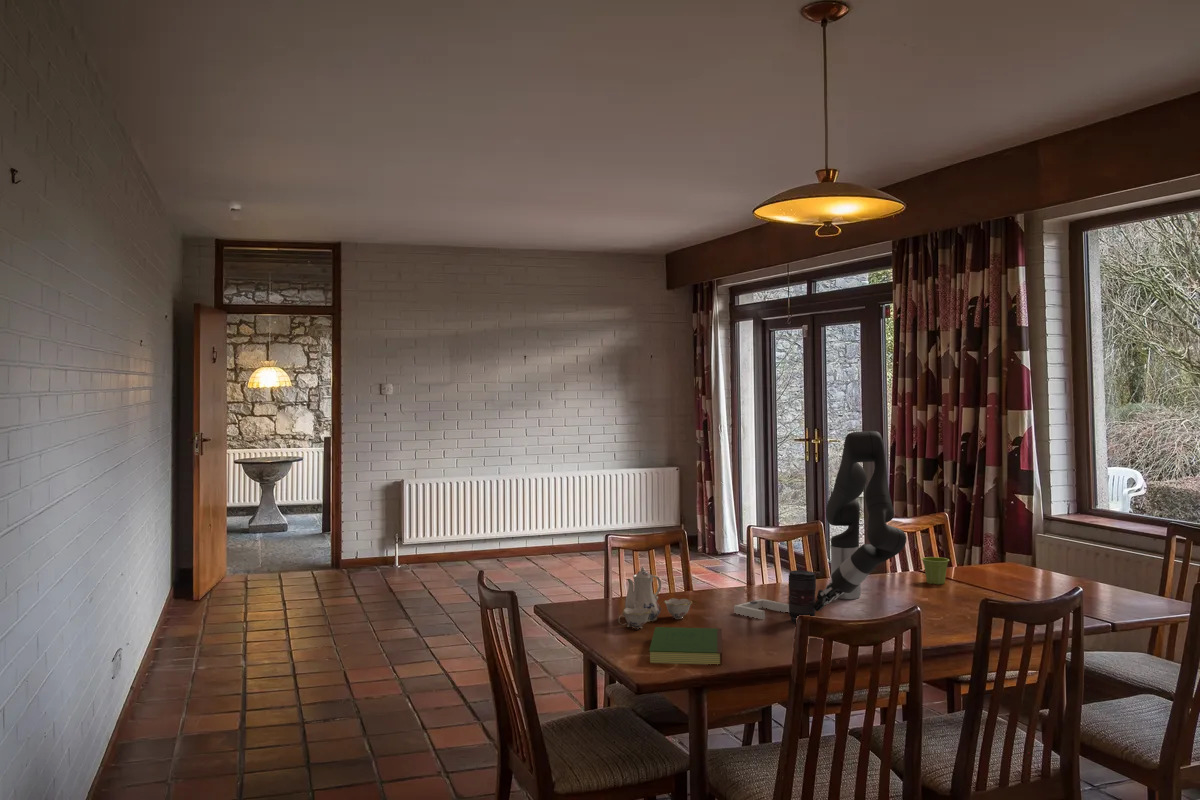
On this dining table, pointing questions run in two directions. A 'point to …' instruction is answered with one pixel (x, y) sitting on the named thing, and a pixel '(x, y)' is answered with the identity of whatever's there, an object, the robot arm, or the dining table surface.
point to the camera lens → (801, 593)
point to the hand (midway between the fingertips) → (815, 608)
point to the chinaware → (648, 601)
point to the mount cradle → (753, 607)
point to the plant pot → (935, 569)
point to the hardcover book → (686, 645)
